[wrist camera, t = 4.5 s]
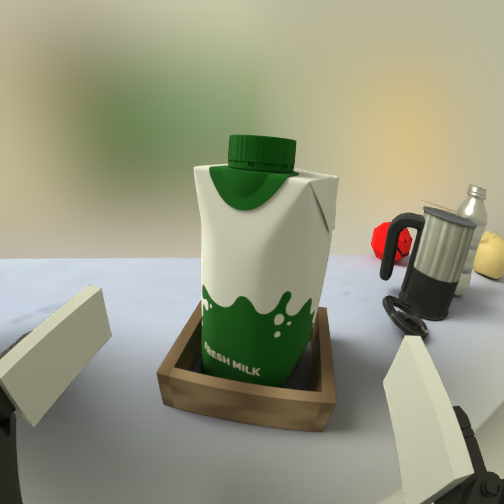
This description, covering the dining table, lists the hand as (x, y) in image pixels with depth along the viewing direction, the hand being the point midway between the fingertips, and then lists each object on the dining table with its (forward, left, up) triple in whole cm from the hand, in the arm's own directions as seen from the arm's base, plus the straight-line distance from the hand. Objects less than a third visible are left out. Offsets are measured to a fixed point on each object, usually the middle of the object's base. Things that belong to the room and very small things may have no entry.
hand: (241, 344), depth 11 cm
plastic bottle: (+34, +34, -12) cm, 49 cm away
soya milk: (0, +11, -12) cm, 16 cm away
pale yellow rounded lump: (+54, +47, -12) cm, 72 cm away
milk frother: (+22, +24, -12) cm, 35 cm away
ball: (+24, +47, -12) cm, 54 cm away
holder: (0, +11, -12) cm, 16 cm away
